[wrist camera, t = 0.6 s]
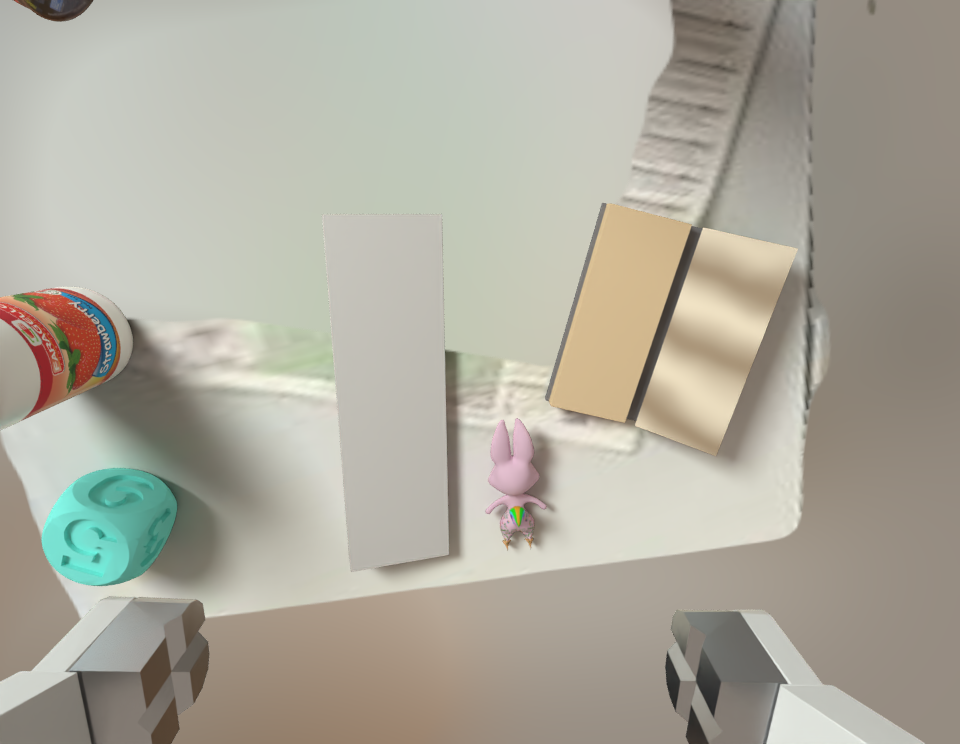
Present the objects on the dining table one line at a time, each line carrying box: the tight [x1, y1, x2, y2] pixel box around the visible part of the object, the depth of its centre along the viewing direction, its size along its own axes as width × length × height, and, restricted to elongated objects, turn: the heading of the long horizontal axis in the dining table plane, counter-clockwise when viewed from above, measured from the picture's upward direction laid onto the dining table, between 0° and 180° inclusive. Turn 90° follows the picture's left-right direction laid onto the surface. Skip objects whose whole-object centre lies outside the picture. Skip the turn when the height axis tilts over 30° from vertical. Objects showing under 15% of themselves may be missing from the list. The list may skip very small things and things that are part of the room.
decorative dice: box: [42, 468, 177, 586], centre depth 53 cm, size 8×8×8 cm
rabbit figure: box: [486, 418, 547, 551], centre depth 54 cm, size 6×6×15 cm
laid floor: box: [545, 203, 702, 423], centre depth 51 cm, size 19×17×2 cm
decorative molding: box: [322, 214, 449, 572], centre depth 53 cm, size 34×5×10 cm
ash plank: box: [635, 228, 798, 456], centre depth 49 cm, size 19×8×2 cm, turn 166°
